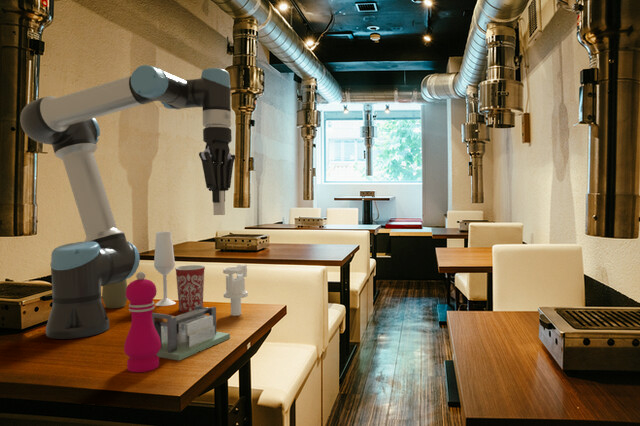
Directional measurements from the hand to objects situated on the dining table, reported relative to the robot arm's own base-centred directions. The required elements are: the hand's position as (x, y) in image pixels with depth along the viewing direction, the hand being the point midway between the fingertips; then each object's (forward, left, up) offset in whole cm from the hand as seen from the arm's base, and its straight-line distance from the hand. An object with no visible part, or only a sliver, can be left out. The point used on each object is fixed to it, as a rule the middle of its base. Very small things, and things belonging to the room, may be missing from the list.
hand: (219, 214), depth 133 cm
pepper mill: (+6, -33, -31) cm, 45 cm away
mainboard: (+4, -18, -30) cm, 36 cm away
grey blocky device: (+4, -19, -29) cm, 35 cm away
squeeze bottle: (-47, +5, -31) cm, 56 cm away
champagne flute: (-35, +15, -31) cm, 49 cm away
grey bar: (+4, -18, -24) cm, 30 cm away
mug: (-22, +13, -31) cm, 40 cm away
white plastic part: (-4, +12, -31) cm, 33 cm away
